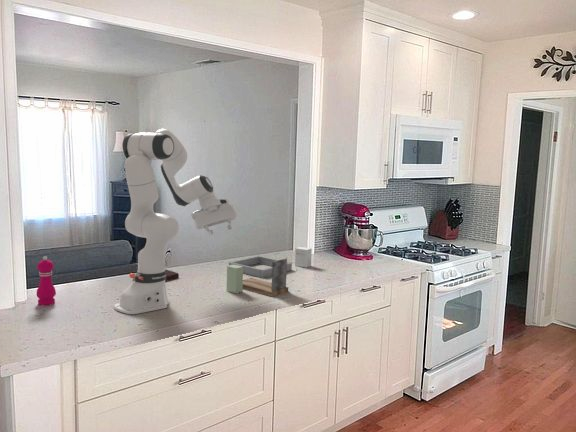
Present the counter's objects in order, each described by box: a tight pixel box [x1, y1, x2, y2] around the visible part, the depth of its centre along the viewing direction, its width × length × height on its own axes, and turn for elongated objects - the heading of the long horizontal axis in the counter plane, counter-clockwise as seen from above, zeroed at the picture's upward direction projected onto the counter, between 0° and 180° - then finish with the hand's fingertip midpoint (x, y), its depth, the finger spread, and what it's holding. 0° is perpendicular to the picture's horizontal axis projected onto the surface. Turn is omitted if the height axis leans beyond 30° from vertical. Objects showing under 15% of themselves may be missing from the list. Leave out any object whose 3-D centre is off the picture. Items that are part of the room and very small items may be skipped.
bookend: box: [243, 258, 289, 297], centre depth 239 cm, size 12×24×16 cm, turn 52°
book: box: [132, 268, 179, 282], centre depth 250 cm, size 12×19×3 cm, turn 145°
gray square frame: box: [228, 255, 293, 279], centre depth 277 cm, size 25×25×4 cm
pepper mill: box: [36, 255, 57, 306], centre depth 205 cm, size 7×7×20 cm
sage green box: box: [226, 265, 244, 294], centre depth 234 cm, size 4×6×12 cm
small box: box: [294, 246, 312, 269], centre depth 290 cm, size 8×6×10 cm
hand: (221, 231), depth 237 cm, fingers open, 8 cm apart
